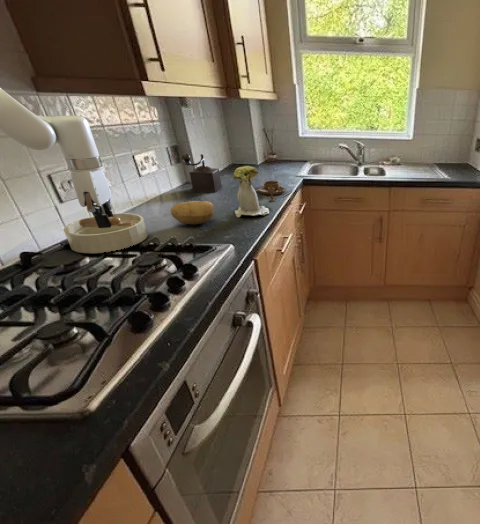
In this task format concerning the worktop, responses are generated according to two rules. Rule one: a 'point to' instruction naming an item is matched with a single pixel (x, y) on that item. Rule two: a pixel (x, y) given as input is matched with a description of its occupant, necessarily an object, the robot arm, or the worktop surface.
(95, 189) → the robot arm
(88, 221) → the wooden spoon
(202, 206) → the potato
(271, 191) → the place setting
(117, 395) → the worktop surface
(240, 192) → the vase of yellow flowers
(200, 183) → the coffee grinder
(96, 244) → the bowl
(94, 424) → the worktop surface
